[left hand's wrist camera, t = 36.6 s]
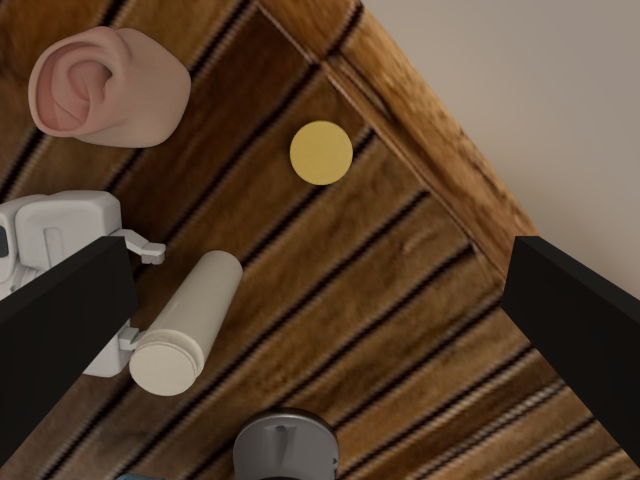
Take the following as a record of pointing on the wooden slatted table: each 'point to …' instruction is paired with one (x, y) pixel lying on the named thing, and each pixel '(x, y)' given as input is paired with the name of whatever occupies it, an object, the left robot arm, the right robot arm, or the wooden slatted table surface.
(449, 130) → the wooden slatted table surface
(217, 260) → the jar
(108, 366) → the right robot arm
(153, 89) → the anatomical model
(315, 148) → the lid
